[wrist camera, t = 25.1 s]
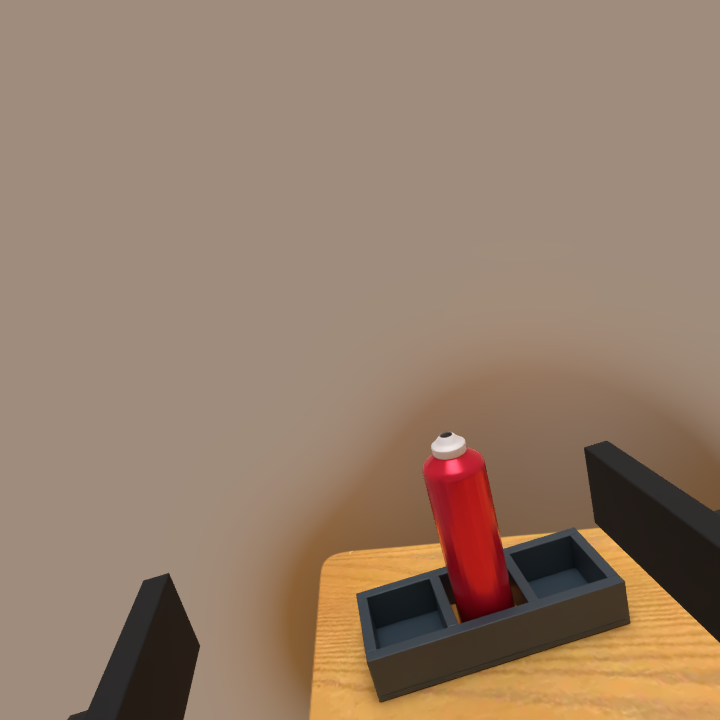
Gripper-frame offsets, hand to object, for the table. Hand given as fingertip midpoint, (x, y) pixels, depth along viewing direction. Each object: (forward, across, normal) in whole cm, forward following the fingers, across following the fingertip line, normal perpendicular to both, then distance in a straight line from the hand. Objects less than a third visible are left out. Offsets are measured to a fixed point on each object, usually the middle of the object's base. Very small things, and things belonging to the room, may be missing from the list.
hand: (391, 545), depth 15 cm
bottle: (+26, +8, -30) cm, 40 cm away
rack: (+26, +8, -31) cm, 41 cm away
